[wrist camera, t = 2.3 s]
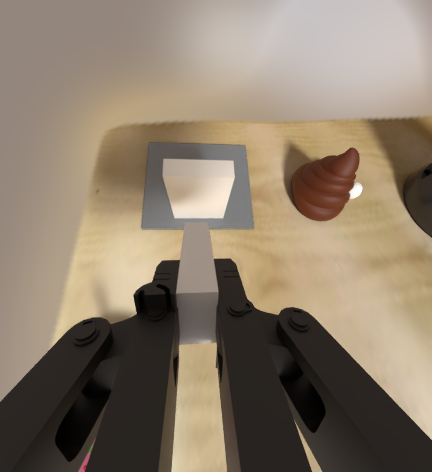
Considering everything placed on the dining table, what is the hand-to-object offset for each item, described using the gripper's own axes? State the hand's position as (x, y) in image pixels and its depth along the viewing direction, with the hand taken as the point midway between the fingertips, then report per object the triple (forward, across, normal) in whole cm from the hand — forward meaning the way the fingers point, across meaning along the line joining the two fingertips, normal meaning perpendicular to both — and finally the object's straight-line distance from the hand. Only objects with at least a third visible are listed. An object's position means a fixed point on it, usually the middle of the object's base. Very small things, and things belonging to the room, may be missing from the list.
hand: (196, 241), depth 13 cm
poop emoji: (+19, -19, +2) cm, 27 cm away
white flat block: (+16, 0, +4) cm, 16 cm away
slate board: (+20, 0, 0) cm, 20 cm away
